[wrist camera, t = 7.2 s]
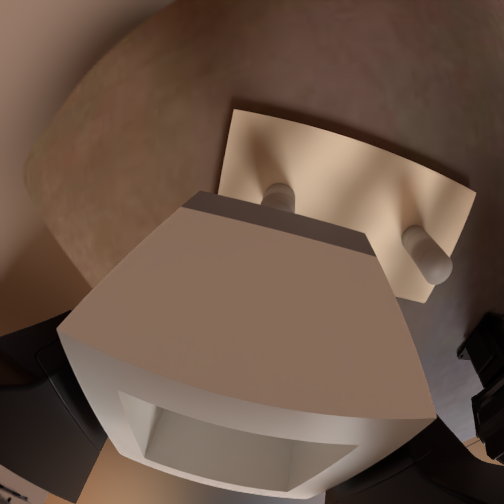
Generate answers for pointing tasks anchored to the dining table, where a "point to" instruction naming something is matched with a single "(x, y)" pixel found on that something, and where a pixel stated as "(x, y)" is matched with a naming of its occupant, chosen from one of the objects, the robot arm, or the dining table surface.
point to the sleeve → (249, 351)
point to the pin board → (351, 194)
